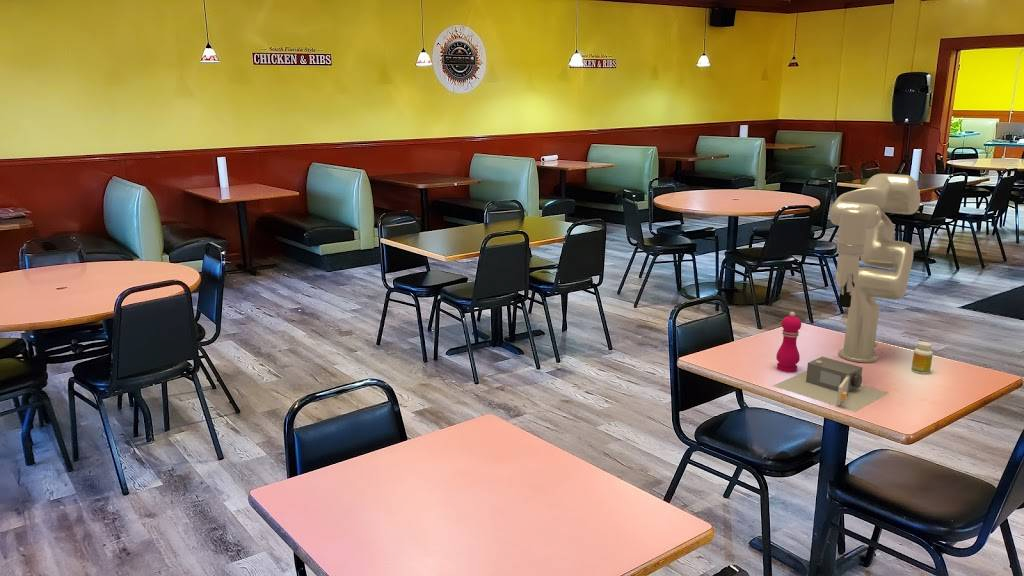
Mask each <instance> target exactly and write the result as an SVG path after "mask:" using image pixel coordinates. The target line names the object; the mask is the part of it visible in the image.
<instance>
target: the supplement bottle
mask: <svg viewBox="0 0 1024 576" xmlns="http://www.w3.org/2000/svg"><path fill="white" fill-rule="evenodd" d="M931 349H932V343H930V342H927V341H918V342H917V346H916V348H914V351H913V357H912V364H911V371H912V372H914V373H916V374H922V375H928V374H930V373H931V367H932V361H933V355H934V352H933V351H932V350H931Z"/></svg>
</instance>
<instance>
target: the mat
mask: <svg viewBox="0 0 1024 576" xmlns="http://www.w3.org/2000/svg"><path fill="white" fill-rule="evenodd" d="M806 376H807V370H805V371H802V372H801V373H798V374H796V375H793V376H791V377H789V378H785V380H782V381H780V382H778V383H775V384H773V385H772V386H773V387H774V388H775V387H776V388H779V389H781V390H785V391H787V392H791V393H794V394H796V395H800V396H803V397H807V398H809V399H812V400H817V401H819V402H822V403H825V404H829V405H832V406H835V407H837V408H841V409H844V410H848V411H850V412H854V413H856V412H857V411H859V410H861V409H863V408H865V407H866V406H868V405H869V406H870V404H872V403H874V402H875V401H878V400H879V399H881V398H882V397H883V398H884V397H885V396H886V395H888V394H889V392H886V391H883V390H880V389H876V388H873V387H869V386H867V385H863V384H861V385H860V387H859V388H857V389H855V390H853V391H851V392H849V393H848V395H847V399H846V401H844V400H843V401H842V402H841V404H840V405H837V397H838V391H834V390H831V389H828V388H824V387H821V386H818V385H814V384H811V383H808V382H806Z"/></svg>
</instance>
